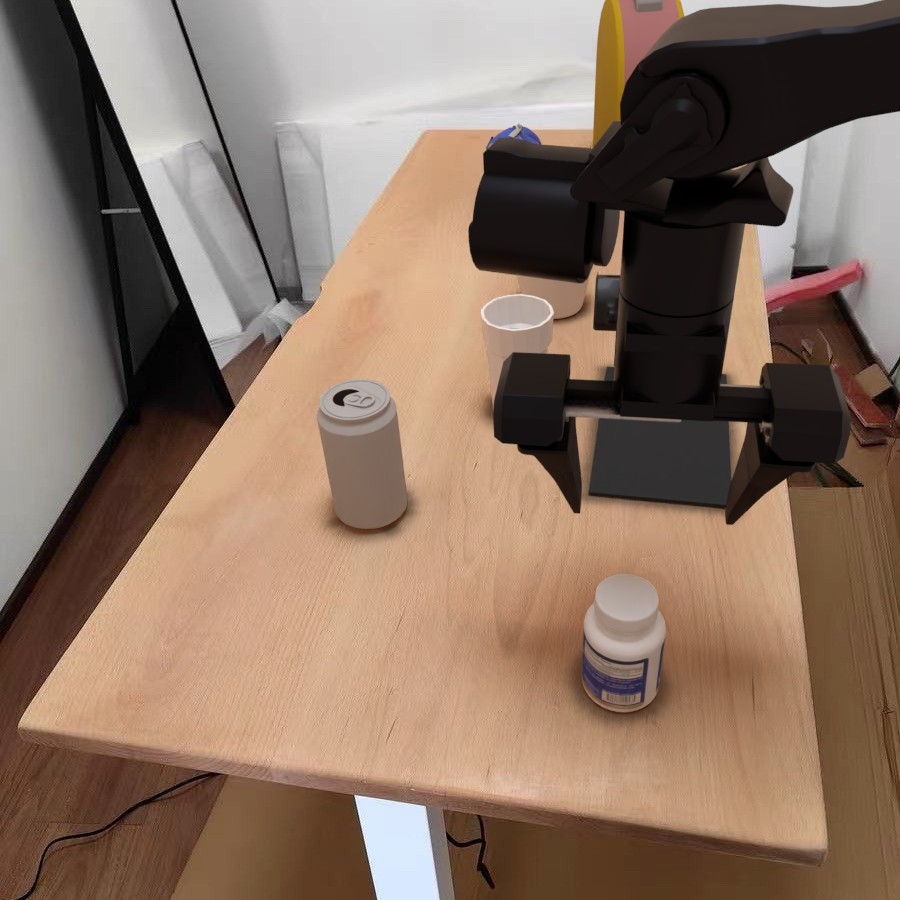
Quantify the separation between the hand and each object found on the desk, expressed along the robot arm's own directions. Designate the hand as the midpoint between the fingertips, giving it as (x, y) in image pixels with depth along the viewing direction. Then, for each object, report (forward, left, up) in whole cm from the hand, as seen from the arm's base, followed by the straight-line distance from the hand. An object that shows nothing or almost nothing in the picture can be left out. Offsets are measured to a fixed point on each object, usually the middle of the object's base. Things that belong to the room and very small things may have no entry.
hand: (651, 514), depth 54 cm
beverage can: (+17, -20, -13) cm, 29 cm away
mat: (-11, -24, -13) cm, 29 cm away
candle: (-8, -50, -13) cm, 52 cm away
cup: (+1, -31, -13) cm, 33 cm away
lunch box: (-30, -84, -13) cm, 90 cm away
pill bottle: (+2, +2, -13) cm, 14 cm away
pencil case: (-13, -78, -13) cm, 80 cm away
